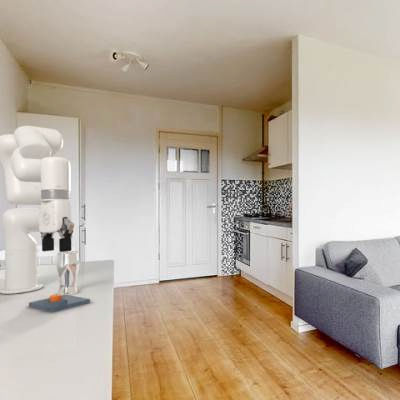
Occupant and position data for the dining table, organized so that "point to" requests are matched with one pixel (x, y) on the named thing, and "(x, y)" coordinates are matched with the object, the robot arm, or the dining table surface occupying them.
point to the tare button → (55, 298)
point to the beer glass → (67, 272)
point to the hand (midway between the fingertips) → (56, 251)
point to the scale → (59, 303)
